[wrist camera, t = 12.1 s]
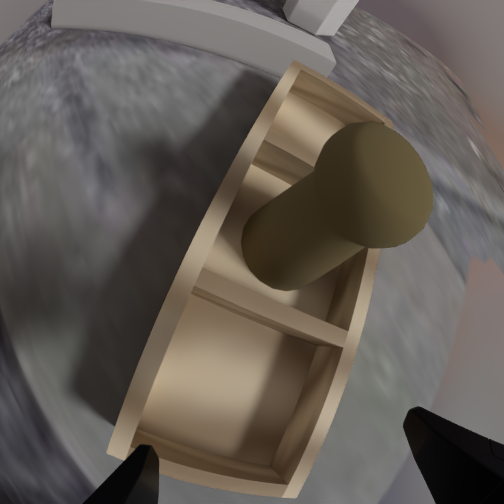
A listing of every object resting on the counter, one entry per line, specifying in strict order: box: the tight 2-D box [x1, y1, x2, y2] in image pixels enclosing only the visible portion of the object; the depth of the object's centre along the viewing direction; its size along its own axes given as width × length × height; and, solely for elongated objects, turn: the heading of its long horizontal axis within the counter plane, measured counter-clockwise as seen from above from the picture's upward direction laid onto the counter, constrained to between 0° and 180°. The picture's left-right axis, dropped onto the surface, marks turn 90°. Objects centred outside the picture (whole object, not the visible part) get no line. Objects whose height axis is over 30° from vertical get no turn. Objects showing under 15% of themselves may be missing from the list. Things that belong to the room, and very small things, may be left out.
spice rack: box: [107, 60, 393, 498], centre depth 18 cm, size 31×11×4 cm, turn 159°
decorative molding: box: [51, 0, 336, 79], centre depth 23 cm, size 34×5×10 cm
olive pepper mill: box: [241, 121, 433, 291], centre depth 14 cm, size 6×6×11 cm
